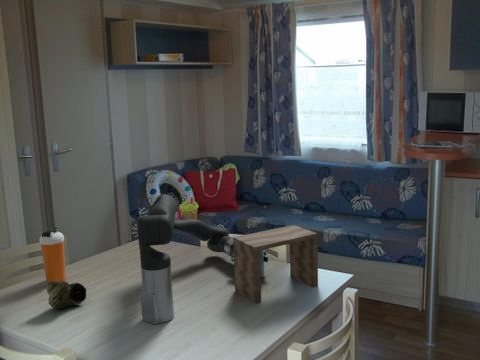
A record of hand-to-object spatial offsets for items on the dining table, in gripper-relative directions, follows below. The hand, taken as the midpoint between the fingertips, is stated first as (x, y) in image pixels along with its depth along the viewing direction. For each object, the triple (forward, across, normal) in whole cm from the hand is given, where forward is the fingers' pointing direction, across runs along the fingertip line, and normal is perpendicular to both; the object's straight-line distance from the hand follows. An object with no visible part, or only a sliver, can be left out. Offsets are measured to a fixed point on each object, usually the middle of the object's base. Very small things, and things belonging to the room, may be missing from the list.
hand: (260, 261), depth 196 cm
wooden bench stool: (+11, 0, +7) cm, 13 cm away
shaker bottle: (-45, -65, +7) cm, 79 cm away
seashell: (-16, -67, +7) cm, 69 cm away
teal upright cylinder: (-3, 0, +6) cm, 7 cm away
